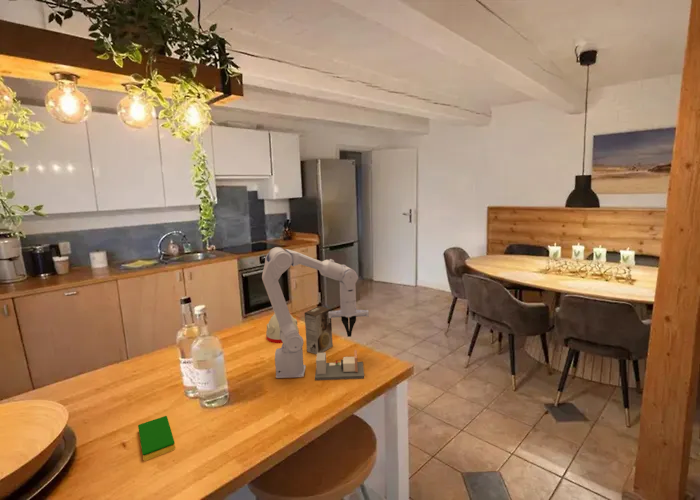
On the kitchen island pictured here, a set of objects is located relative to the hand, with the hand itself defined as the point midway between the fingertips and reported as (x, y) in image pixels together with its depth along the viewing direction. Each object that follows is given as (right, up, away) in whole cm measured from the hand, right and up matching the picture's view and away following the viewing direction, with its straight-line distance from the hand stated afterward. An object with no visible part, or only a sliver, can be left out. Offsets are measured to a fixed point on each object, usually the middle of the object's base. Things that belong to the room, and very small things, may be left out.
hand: (349, 335), depth 136 cm
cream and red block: (0, -9, -7) cm, 12 cm away
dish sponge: (-50, -19, -39) cm, 67 cm away
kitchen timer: (-29, -6, +25) cm, 39 cm away
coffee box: (-12, -8, +12) cm, 18 cm away
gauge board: (-3, -11, -7) cm, 14 cm away
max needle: (-5, -9, -4) cm, 11 cm away
